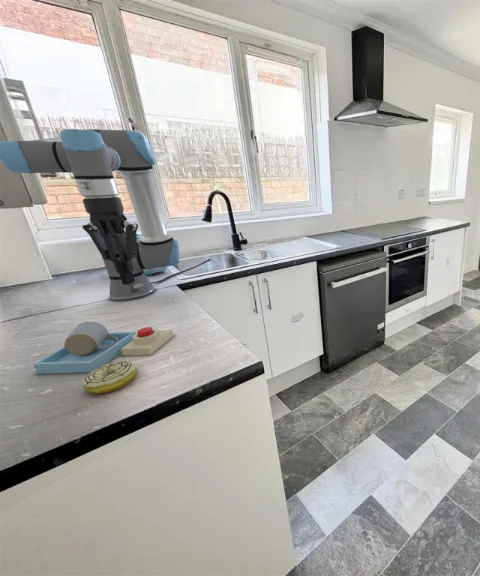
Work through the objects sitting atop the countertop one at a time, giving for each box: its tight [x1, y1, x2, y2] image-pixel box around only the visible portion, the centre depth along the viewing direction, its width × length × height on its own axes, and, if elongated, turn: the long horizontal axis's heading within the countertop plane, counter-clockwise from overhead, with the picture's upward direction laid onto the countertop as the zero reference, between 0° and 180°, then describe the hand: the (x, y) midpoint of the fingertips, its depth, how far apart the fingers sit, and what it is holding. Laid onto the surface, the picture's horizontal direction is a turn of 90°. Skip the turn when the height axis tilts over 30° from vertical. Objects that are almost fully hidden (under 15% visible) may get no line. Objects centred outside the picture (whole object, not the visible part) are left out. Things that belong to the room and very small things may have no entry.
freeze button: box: [136, 326, 153, 337], centre depth 93 cm, size 4×4×2 cm
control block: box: [121, 328, 174, 356], centre depth 94 cm, size 11×8×4 cm
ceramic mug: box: [63, 321, 119, 356], centre depth 90 cm, size 11×8×8 cm
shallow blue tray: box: [33, 331, 137, 375], centre depth 89 cm, size 17×15×3 cm
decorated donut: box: [81, 360, 138, 395], centre depth 77 cm, size 10×11×4 cm
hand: (129, 283), depth 88 cm, fingers closed
